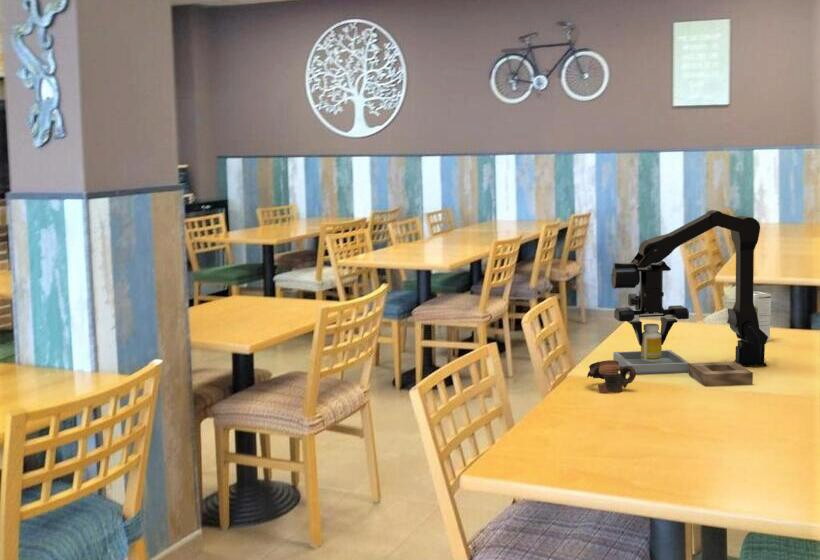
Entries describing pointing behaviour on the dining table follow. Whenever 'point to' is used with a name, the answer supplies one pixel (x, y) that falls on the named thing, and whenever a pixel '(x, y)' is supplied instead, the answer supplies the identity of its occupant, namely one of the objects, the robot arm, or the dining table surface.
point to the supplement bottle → (651, 343)
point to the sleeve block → (720, 373)
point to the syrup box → (763, 311)
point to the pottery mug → (611, 375)
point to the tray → (652, 363)
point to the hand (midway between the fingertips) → (651, 345)
